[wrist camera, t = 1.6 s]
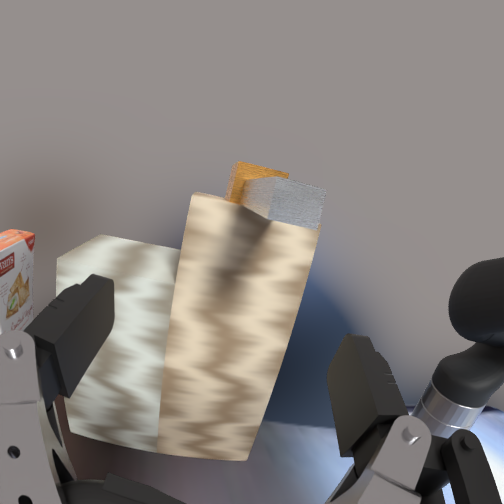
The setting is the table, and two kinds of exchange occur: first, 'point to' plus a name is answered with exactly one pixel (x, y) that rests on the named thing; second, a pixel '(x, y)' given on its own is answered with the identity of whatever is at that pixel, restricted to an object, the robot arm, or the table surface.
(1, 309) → the cracker box
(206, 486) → the table surface
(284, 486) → the table surface
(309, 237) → the step stand
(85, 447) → the table surface
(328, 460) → the table surface
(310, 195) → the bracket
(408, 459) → the robot arm
